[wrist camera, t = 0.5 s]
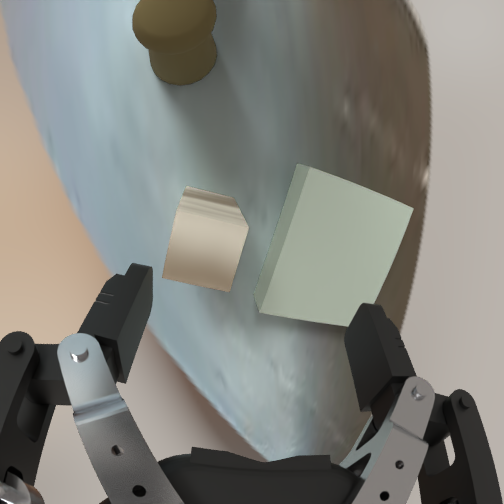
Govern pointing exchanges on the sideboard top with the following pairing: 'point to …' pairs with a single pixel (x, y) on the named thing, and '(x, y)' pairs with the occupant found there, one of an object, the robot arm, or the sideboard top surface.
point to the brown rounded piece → (177, 37)
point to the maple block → (205, 240)
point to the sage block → (329, 249)
